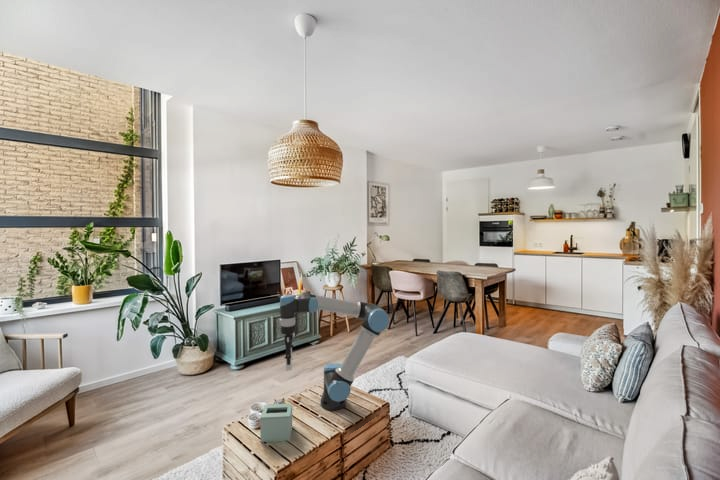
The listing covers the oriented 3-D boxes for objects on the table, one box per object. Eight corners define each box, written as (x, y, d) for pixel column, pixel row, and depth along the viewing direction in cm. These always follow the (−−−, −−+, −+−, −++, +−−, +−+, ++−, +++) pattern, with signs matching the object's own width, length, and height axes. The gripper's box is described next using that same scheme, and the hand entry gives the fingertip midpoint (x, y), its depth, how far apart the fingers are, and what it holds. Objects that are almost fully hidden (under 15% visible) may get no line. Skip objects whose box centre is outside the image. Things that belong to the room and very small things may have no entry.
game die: (281, 421, 190) (282, 413, 184) (267, 414, 192) (268, 406, 186) (289, 407, 197) (291, 398, 191) (276, 400, 199) (277, 391, 192)
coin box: (292, 425, 180) (292, 403, 179) (290, 440, 168) (290, 416, 168) (264, 427, 178) (264, 404, 178) (260, 441, 167) (260, 417, 166)
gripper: (282, 318, 193) (283, 356, 194) (279, 333, 168) (280, 375, 169) (295, 318, 194) (296, 355, 195) (294, 331, 170) (296, 374, 171)
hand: (289, 364), depth 182 cm, fingers open, 13 cm apart
